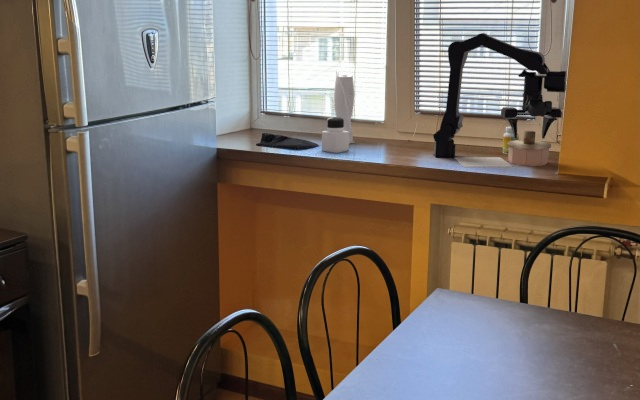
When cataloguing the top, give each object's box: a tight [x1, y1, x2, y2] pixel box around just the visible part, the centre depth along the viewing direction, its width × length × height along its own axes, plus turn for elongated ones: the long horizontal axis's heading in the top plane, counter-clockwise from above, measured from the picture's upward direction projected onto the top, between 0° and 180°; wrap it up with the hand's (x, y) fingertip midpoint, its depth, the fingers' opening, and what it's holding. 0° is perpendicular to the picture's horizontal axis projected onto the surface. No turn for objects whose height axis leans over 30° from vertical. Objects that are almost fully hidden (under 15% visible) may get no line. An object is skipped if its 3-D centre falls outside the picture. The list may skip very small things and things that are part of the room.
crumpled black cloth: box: [255, 132, 320, 150], centre depth 288 cm, size 15×22×5 cm
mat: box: [454, 156, 514, 168], centre depth 255 cm, size 16×16×1 cm
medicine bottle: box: [321, 117, 350, 154], centre depth 276 cm, size 7×7×12 cm
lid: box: [507, 130, 552, 150], centre depth 252 cm, size 14×14×5 cm
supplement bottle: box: [502, 126, 520, 155], centre depth 271 cm, size 5×5×10 cm
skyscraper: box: [333, 69, 355, 145], centre depth 291 cm, size 8×8×28 cm
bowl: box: [507, 147, 550, 167], centre depth 254 cm, size 12×12×6 cm
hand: (529, 138), depth 252 cm, fingers open, 9 cm apart
